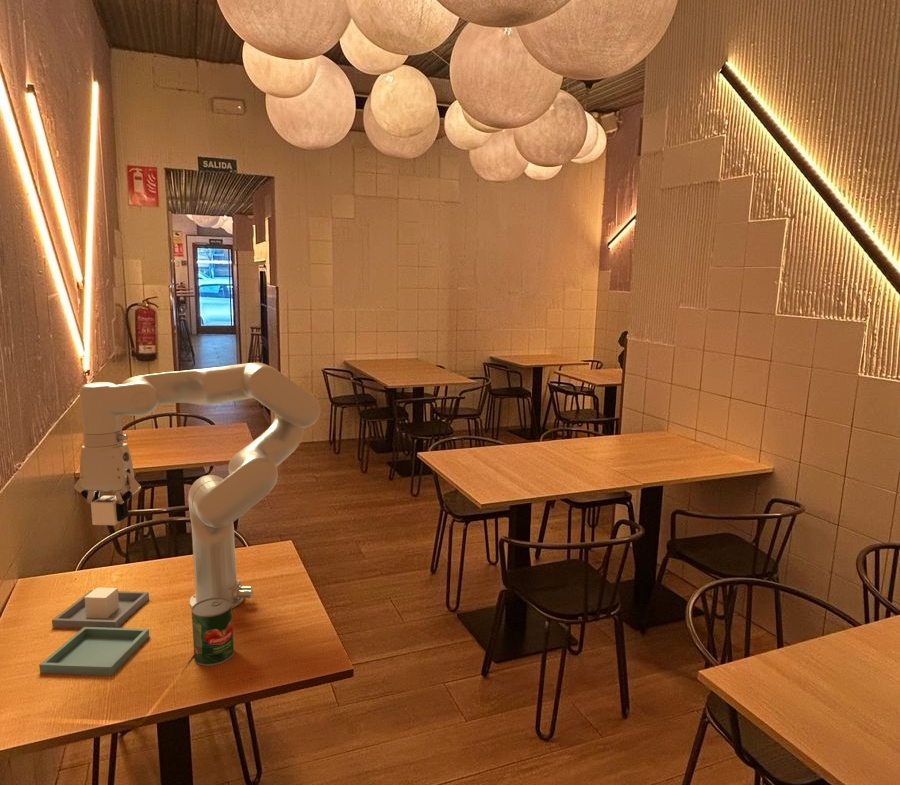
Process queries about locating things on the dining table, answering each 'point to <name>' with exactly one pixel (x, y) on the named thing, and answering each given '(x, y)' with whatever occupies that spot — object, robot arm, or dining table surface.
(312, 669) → the dining table surface
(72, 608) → the charcoal tray
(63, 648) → the teal tray
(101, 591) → the blank cube
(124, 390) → the robot arm
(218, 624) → the canned tomato
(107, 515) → the letter cube
